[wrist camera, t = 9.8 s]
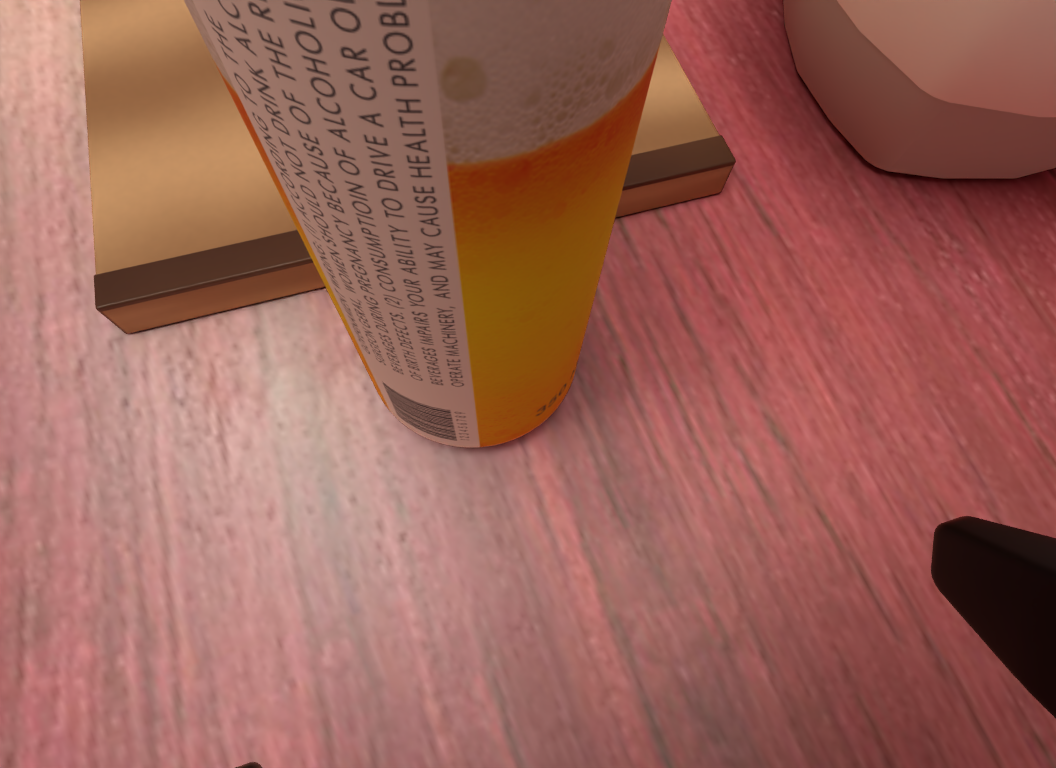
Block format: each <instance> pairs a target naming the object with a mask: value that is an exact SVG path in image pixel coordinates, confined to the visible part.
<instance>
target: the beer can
mask: <svg viewBox="0 0 1056 768" xmlns="http://www.w3.org/2000/svg"><path fill="white" fill-rule="evenodd" d="M671 1H672V0H184V2H185V4H186V6H187V8H188V10H189V12H190V14H191V16H192V18H193V20H194V22H195V24H196V26H197V28H198V30H199V32H200V34H201V36H202V38H203V40H204V42H205V44H206V46H207V48H208V50H209V52H210V54H211V56H212V58H213V60H214V62H215V64H216V66H217V68H218V70H219V72H220V74H221V76H222V78H223V81H224V83H225V85H226V87H227V89H228V91H229V93H230V95H231V97H232V99H233V101H234V103H235V105H236V107H237V109H238V111H239V113H240V115H241V117H242V119H243V121H244V123H245V125H246V127H247V129H248V131H249V133H250V135H251V137H252V139H253V141H254V143H255V145H256V147H257V149H258V151H259V153H260V155H261V157H262V159H263V161H264V163H265V165H266V167H267V169H268V172H269V174H270V176H271V178H272V180H273V182H274V184H275V186H276V188H277V190H278V192H279V194H280V196H281V198H282V200H283V202H284V204H285V206H286V208H287V210H288V212H289V214H290V216H291V218H292V220H293V222H294V224H295V226H296V228H297V230H298V232H299V234H300V236H301V238H302V240H303V242H304V244H305V246H306V248H307V250H308V252H309V254H310V256H311V258H312V260H313V263H314V265H315V267H316V269H317V271H318V273H319V275H320V277H321V279H322V281H323V283H324V285H325V287H326V289H327V291H328V293H329V295H330V297H331V299H332V301H333V303H334V305H335V307H336V309H337V311H338V313H339V315H340V317H341V319H342V321H343V323H344V325H345V327H346V329H347V331H348V333H349V335H350V337H351V339H352V341H353V343H354V345H355V347H356V349H357V351H358V354H359V356H360V358H361V360H362V362H363V364H364V366H365V368H366V370H367V372H368V374H369V376H370V378H371V380H372V382H373V384H374V386H375V388H376V390H377V392H378V394H379V396H380V397H381V399H382V401H383V403H384V404H385V405H386V407H387V408H388V409H389V411H390V412H391V413H392V414H393V415H394V416H395V417H396V418H397V419H398V420H399V421H400V422H401V423H403V424H404V425H405V426H406V427H408V428H409V429H411V430H412V431H414V432H415V433H417V434H419V435H421V436H423V437H425V438H427V439H429V440H432V441H435V442H438V443H441V444H446V445H450V446H456V447H467V448H471V447H487V446H494V445H498V444H502V443H506V442H508V441H511V440H514V439H517V438H519V437H521V436H523V435H525V434H527V433H529V432H530V431H532V430H533V429H535V428H536V427H538V426H539V425H540V424H542V423H543V422H544V421H545V420H546V419H548V418H549V417H550V416H551V414H552V413H553V412H554V411H555V410H556V409H557V408H558V406H559V405H560V404H561V402H562V401H563V399H564V398H565V396H566V394H567V392H568V390H569V388H570V386H571V383H572V381H573V377H574V374H575V370H576V366H577V362H578V358H579V354H580V351H581V347H582V343H583V339H584V335H585V331H586V328H587V324H588V320H589V316H590V312H591V308H592V304H593V301H594V297H595V293H596V289H597V285H598V281H599V278H600V274H601V270H602V266H603V262H604V258H605V254H606V251H607V247H608V243H609V239H610V235H611V231H612V228H613V224H614V220H615V216H616V212H617V208H618V204H619V201H620V197H621V193H622V189H623V185H624V181H625V178H626V174H627V170H628V166H629V162H630V158H631V154H632V151H633V147H634V143H635V139H636V135H637V131H638V128H639V124H640V120H641V116H642V112H643V108H644V104H645V101H646V97H647V93H648V89H649V85H650V81H651V78H652V74H653V70H654V66H655V62H656V58H657V54H658V51H659V47H660V43H661V39H662V35H663V31H664V28H665V24H666V20H667V16H668V12H669V8H670V4H671Z"/></svg>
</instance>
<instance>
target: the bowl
mask: <svg viewBox="0 0 1056 768" xmlns="http://www.w3.org/2000/svg"><path fill="white" fill-rule="evenodd" d="M783 7H784V25H785V29H786V32H787V36H788V40H789V43H790V47H791V51H792V55H793V58H794V62H795V66H796V69H797V72H798V73H799V75H800V76H801V78H802V79H803V81H804V82H805V84H806V85H807V87H808V89H809V90H810V92H811V93H812V95H813V96H814V98H815V99H816V101H817V102H818V104H819V105H820V107H821V108H822V110H823V111H824V113H825V114H826V116H827V117H828V119H829V120H830V121H831V122H832V124H833V125H834V126H835V127H836V128H837V129H838V130H839V131H840V133H841V134H842V135H843V136H844V137H845V138H846V139H847V140H848V142H849V143H850V144H851V145H852V146H853V147H854V148H855V149H856V151H857V152H858V153H859V154H860V155H861V156H862V157H863V158H864V159H865V160H866V161H868V162H869V163H870V164H872V165H873V166H875V167H878V168H880V169H883V170H886V171H890V172H898V173H905V174H913V175H920V176H928V177H935V178H1019V177H1023V176H1026V175H1030V174H1034V173H1038V172H1042V171H1045V170H1049V169H1053V168H1056V0H783Z"/></svg>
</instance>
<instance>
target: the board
mask: <svg viewBox="0 0 1056 768" xmlns="http://www.w3.org/2000/svg"><path fill="white" fill-rule="evenodd" d="M80 10H81V27H82V44H83V61H84V78H85V96H86V113H87V130H88V147H89V164H90V181H91V199H92V216H93V233H94V250H95V267H96V275H94V288H95V305H96V309H97V310H98V311H99V312H100V313H101V314H103V315H104V316H105V317H106V318H108V319H109V320H110V321H111V322H112V323H114V324H115V325H116V326H117V327H118V328H120V329H121V330H122V331H123V332H124V333H126V334H130V333H134V332H138V331H142V330H146V329H151V328H155V327H159V326H163V325H167V324H172V323H176V322H180V321H184V320H188V319H193V318H197V317H201V316H205V315H209V314H214V313H218V312H222V311H226V310H230V309H235V308H239V307H243V306H247V305H251V304H256V303H260V302H264V301H268V300H272V299H277V298H281V297H285V296H289V295H293V294H297V293H302V292H306V291H310V290H314V289H318V288H323V287H325V285H324V283H323V281H322V279H321V277H320V275H319V273H318V271H317V269H316V267H315V265H314V263H313V260H312V258H311V256H310V254H309V252H308V250H307V248H306V246H305V244H304V242H303V240H302V238H301V236H300V234H299V232H298V230H297V228H296V226H295V224H294V222H293V220H292V218H291V216H290V214H289V212H288V210H287V208H286V206H285V204H284V202H283V200H282V198H281V196H280V194H279V192H278V190H277V188H276V186H275V184H274V182H273V180H272V178H271V176H270V174H269V172H268V169H267V167H266V165H265V163H264V161H263V159H262V157H261V155H260V153H259V151H258V149H257V147H256V145H255V143H254V141H253V139H252V137H251V135H250V133H249V131H248V129H247V127H246V125H245V123H244V121H243V119H242V117H241V115H240V113H239V111H238V109H237V107H236V105H235V103H234V101H233V99H232V97H231V95H230V93H229V91H228V89H227V87H226V85H225V83H224V81H223V78H222V76H221V74H220V72H219V70H218V68H217V66H216V64H215V62H214V60H213V58H212V56H211V54H210V52H209V50H208V48H207V46H206V44H205V42H204V40H203V38H202V36H201V34H200V32H199V30H198V28H197V26H196V24H195V22H194V20H193V18H192V16H191V14H190V12H189V10H188V8H187V6H186V4H185V2H184V0H80ZM735 162H736V161H735V158H734V156H733V155H732V153H731V151H730V149H729V147H728V146H727V144H726V142H725V140H724V138H723V137H722V136H721V135H719V134H718V132H717V130H716V128H715V126H714V125H713V123H712V121H711V119H710V117H709V116H708V114H707V112H706V110H705V108H704V107H703V105H702V103H701V101H700V99H699V98H698V96H697V94H696V92H695V90H694V89H693V87H692V85H691V83H690V81H689V80H688V78H687V76H686V74H685V72H684V71H683V69H682V67H681V65H680V63H679V61H678V60H677V58H676V56H675V54H674V52H673V51H672V49H671V47H670V45H669V43H668V42H667V40H666V38H665V36H664V34H663V35H662V39H661V43H660V47H659V51H658V54H657V58H656V62H655V66H654V70H653V74H652V78H651V81H650V85H649V89H648V93H647V97H646V101H645V104H644V108H643V112H642V116H641V120H640V124H639V128H638V131H637V135H636V139H635V143H634V147H633V151H632V154H631V158H630V162H629V166H628V170H627V174H626V178H625V181H624V185H623V189H622V193H621V197H620V201H619V204H618V208H617V212H616V216H615V218H616V217H621V216H625V215H629V214H633V213H637V212H642V211H646V210H650V209H654V208H658V207H663V206H667V205H671V204H675V203H679V202H684V201H688V200H692V199H696V198H700V197H704V196H709V195H713V194H717V193H720V192H721V191H722V189H723V187H724V185H725V183H726V181H727V179H728V177H729V175H730V172H731V170H732V168H733V166H734V164H735Z"/></svg>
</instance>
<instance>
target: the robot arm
mask: <svg viewBox="0 0 1056 768" xmlns="http://www.w3.org/2000/svg"><path fill="white" fill-rule="evenodd" d="M931 574H932V578H933V580H934V583H935V584H936V586H937V588H938V589H939V591H940V592H941V593H942V594H943V595H944V596H945V598H946V599H947V600H948V601H949V602H950V603H951V604H952V606H953V607H954V608H955V609H956V610H957V611H958V612H959V614H960V615H961V616H962V617H963V618H964V619H965V620H966V622H967V623H968V624H969V625H970V626H971V627H972V628H973V629H974V631H975V632H976V633H977V634H978V635H979V636H980V637H981V639H982V640H983V641H984V642H985V643H986V644H987V645H988V647H989V648H990V649H991V650H992V651H993V652H994V653H995V655H996V656H997V657H998V658H999V659H1000V660H1001V661H1002V663H1003V664H1004V665H1005V666H1006V667H1007V668H1008V669H1009V671H1010V672H1011V673H1012V674H1013V675H1014V676H1015V677H1016V678H1017V679H1018V680H1019V682H1020V683H1021V684H1022V685H1023V686H1024V687H1025V688H1026V689H1027V690H1028V691H1029V692H1030V693H1031V694H1032V695H1033V696H1034V697H1035V698H1036V699H1037V700H1038V701H1039V702H1040V703H1041V704H1042V705H1043V706H1044V707H1045V708H1046V709H1047V710H1048V711H1049V712H1050V713H1051V714H1052V715H1053V716H1054V717H1055V718H1056V538H1052V537H1048V536H1045V535H1041V534H1037V533H1033V532H1029V531H1025V530H1021V529H1018V528H1014V527H1010V526H1006V525H1002V524H998V523H994V522H991V521H987V520H983V519H979V518H975V517H971V516H964V517H959V518H956V519H953V520H950V521H947V522H944V523H941V524H940V525H938V526H937V528H936V529H935V532H934V541H933V552H932V564H931ZM236 768H262V767H261V765H260V764H258V763H256V762H250V763H247V764H244V765H242V766H239V767H236Z"/></svg>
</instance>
